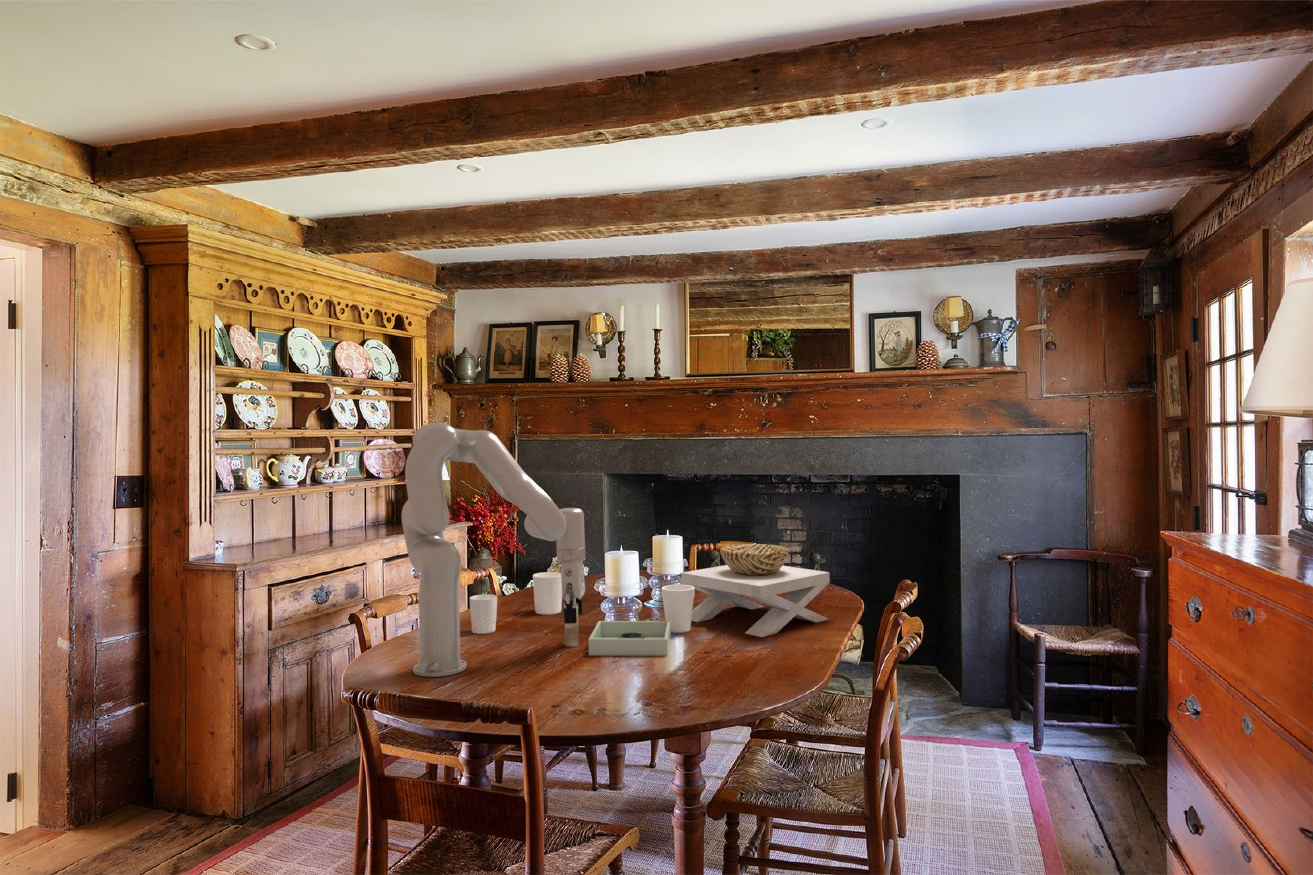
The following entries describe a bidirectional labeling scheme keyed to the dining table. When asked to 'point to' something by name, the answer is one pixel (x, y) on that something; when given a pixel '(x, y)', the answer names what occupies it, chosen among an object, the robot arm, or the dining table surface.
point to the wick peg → (572, 632)
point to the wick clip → (631, 635)
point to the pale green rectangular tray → (609, 644)
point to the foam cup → (678, 606)
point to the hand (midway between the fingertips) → (573, 618)
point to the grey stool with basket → (757, 586)
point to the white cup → (483, 613)
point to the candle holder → (547, 592)
